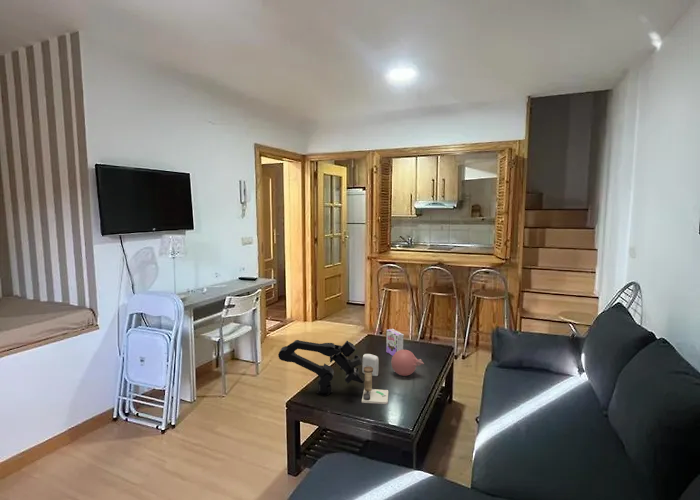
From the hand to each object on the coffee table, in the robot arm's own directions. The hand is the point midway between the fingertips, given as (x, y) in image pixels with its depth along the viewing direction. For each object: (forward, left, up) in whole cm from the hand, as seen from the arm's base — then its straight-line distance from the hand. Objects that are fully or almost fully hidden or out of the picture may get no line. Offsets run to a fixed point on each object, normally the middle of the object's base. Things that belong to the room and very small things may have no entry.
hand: (363, 382), depth 215 cm
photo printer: (-12, +25, -7) cm, 28 cm away
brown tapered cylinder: (+4, -1, -6) cm, 7 cm away
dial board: (+7, +2, -7) cm, 10 cm away
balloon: (+7, +37, -7) cm, 38 cm away
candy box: (-17, +62, -7) cm, 64 cm away
